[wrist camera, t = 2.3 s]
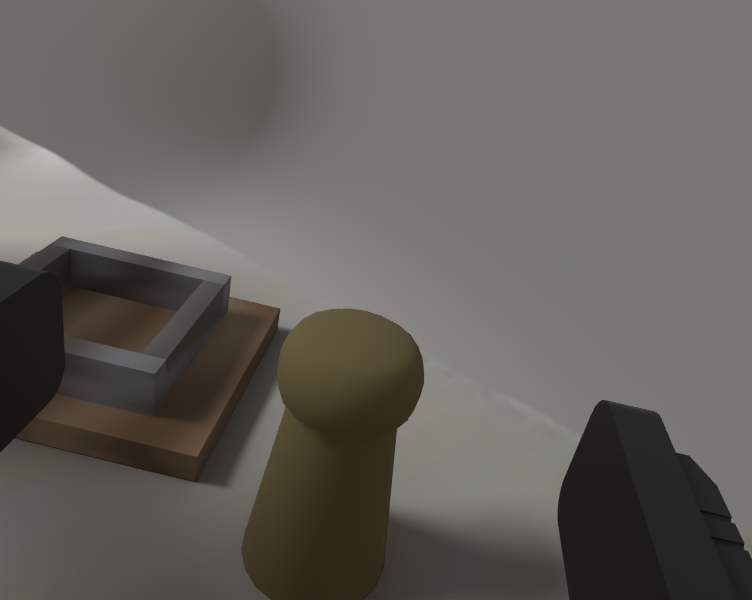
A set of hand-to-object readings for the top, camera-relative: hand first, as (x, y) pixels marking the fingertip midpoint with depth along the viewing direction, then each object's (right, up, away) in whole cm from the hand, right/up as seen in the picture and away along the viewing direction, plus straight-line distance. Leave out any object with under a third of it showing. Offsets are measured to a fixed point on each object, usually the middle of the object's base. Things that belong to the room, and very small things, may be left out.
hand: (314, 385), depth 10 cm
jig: (-14, -2, +26) cm, 30 cm away
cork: (-2, -9, +18) cm, 20 cm away
